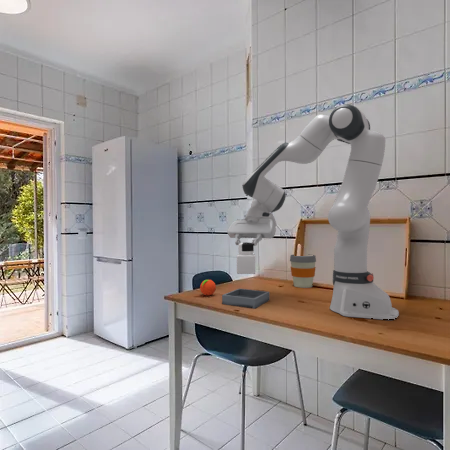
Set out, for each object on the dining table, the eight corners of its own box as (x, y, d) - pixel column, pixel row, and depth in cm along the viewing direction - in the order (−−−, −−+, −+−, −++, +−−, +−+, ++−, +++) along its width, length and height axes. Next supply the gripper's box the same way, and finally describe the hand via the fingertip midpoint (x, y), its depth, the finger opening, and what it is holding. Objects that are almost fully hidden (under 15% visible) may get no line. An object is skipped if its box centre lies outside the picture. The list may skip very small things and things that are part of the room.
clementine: (209, 298, 137) (209, 281, 137) (195, 296, 140) (195, 280, 140) (218, 294, 144) (218, 278, 144) (205, 293, 147) (205, 277, 147)
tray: (269, 300, 133) (269, 291, 132) (254, 308, 121) (254, 299, 120) (239, 296, 140) (239, 288, 140) (222, 303, 128) (222, 295, 128)
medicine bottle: (255, 271, 133) (255, 242, 133) (255, 274, 126) (255, 243, 126) (237, 271, 134) (237, 242, 134) (236, 274, 126) (236, 243, 126)
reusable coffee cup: (320, 285, 161) (320, 255, 161) (308, 289, 152) (307, 257, 152) (298, 282, 170) (298, 253, 170) (285, 286, 161) (284, 255, 161)
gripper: (231, 214, 141) (220, 238, 133) (276, 213, 130) (266, 239, 122) (236, 224, 145) (225, 248, 136) (280, 224, 134) (271, 250, 126)
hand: (245, 244), depth 129 cm, fingers closed on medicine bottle, 6 cm apart
